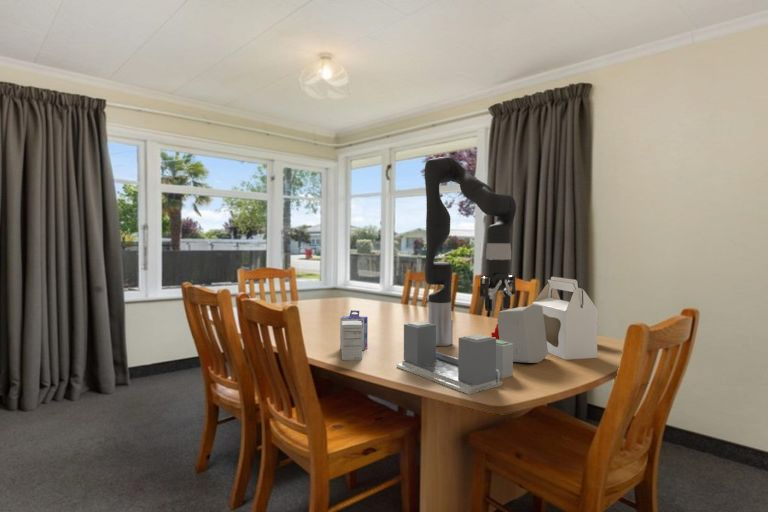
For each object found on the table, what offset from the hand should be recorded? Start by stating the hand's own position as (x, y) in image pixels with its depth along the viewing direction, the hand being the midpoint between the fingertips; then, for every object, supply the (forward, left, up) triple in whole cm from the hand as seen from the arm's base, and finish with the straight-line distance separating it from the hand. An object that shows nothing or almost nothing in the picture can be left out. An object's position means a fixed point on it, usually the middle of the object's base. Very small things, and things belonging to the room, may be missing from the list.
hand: (497, 309), depth 138 cm
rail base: (+14, -8, -20) cm, 26 cm away
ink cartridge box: (+19, -54, -21) cm, 61 cm away
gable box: (-43, -4, -21) cm, 48 cm away
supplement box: (+27, -43, -21) cm, 55 cm away
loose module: (0, 0, -20) cm, 20 cm away
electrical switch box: (-21, -8, -21) cm, 31 cm away
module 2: (+14, +4, -18) cm, 24 cm away
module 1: (+14, -21, -18) cm, 31 cm away
